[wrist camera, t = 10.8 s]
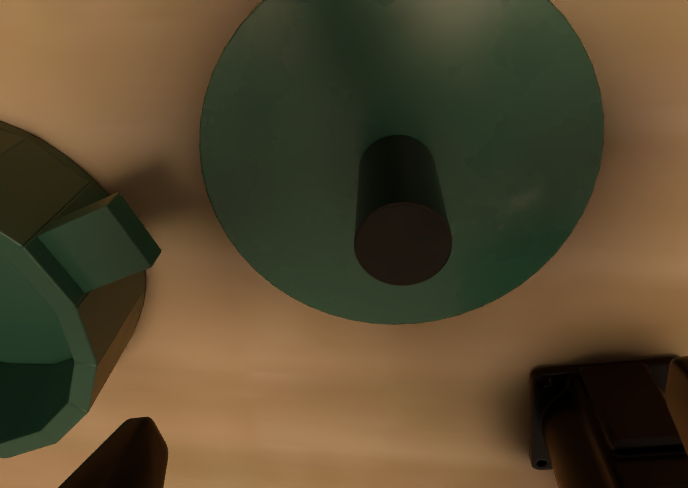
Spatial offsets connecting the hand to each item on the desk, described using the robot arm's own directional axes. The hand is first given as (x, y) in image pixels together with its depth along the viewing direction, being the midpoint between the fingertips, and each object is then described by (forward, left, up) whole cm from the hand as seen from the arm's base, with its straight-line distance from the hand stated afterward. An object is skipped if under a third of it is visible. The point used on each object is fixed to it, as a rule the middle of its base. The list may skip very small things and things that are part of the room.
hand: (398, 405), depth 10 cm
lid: (0, 0, -11) cm, 11 cm away
